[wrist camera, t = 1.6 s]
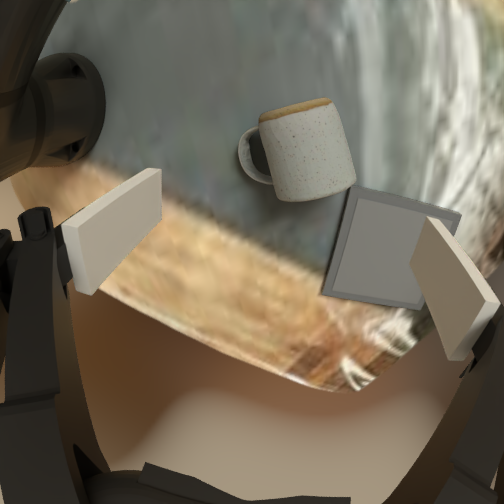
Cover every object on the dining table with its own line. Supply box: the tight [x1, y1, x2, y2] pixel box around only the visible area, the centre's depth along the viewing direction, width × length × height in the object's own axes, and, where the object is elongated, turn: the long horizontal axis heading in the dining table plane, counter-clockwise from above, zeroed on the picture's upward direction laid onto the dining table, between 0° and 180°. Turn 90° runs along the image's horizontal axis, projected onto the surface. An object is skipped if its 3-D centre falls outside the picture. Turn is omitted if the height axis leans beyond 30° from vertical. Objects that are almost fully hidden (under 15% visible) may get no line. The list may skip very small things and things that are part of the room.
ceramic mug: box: [238, 97, 356, 202], centre depth 26 cm, size 11×8×8 cm
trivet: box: [322, 185, 462, 310], centre depth 33 cm, size 14×14×1 cm
